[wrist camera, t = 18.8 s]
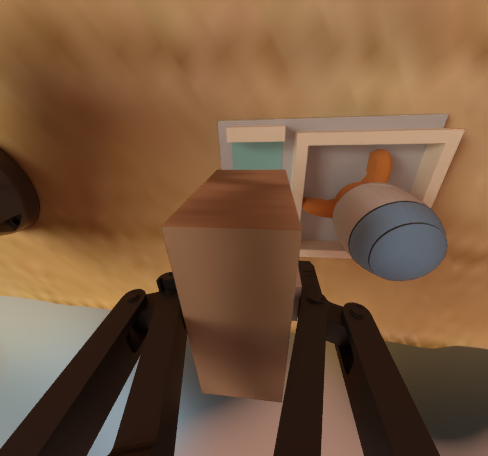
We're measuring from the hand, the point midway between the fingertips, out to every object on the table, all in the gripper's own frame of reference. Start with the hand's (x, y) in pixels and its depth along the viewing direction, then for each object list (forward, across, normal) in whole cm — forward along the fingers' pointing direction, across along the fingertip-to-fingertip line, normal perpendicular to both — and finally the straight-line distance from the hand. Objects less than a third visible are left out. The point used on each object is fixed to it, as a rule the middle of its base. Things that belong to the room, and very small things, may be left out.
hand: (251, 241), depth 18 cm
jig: (+12, +7, 0) cm, 14 cm away
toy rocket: (+12, +12, -1) cm, 16 cm away
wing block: (0, 0, 0) cm, 0 cm away
